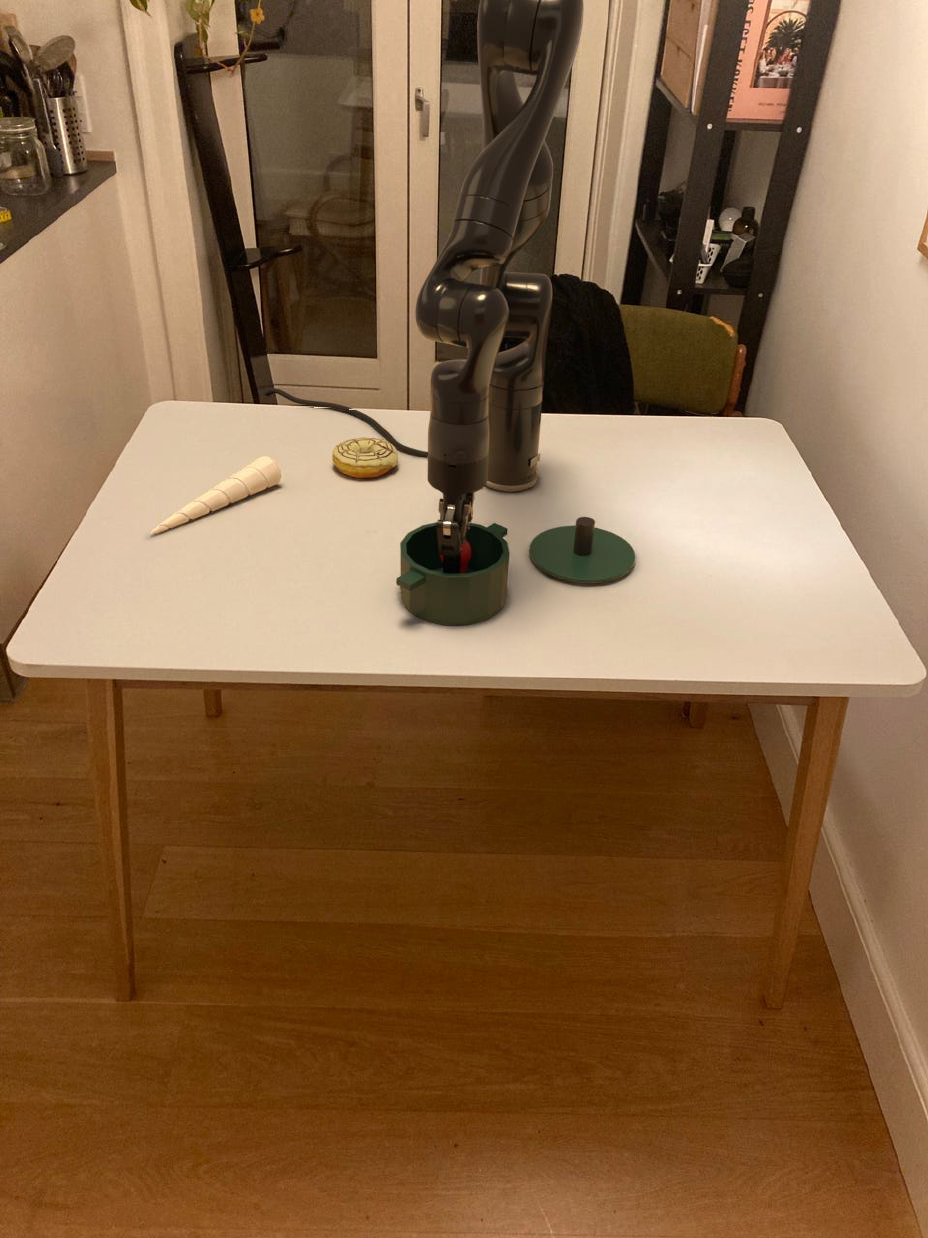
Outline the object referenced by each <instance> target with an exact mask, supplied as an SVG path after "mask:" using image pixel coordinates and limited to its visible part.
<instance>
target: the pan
mask: <svg viewBox="0 0 928 1238" xmlns="http://www.w3.org/2000/svg"><path fill="white" fill-rule="evenodd" d="M437 522H438V521H436V522H431V523H427V524H422V525H420V526H418V527H416V528H415V529H413V530H411V531H409V532H407V533H406V535H405V536H404V538H402V539H401V542H400V545H399V546H400V547H399V549H400V551H399V552H400V553H399V556H400V557H399V558H400V559H399V561H400V562H399V563H400V565H399V566H400V575H399V576H397V577H396V585H397V586H398V587H400V598H401V602H402V604H403V606H404V607H405V608H406V609H407V611H408V612H409V613H411V614H412V615H414V616H416V617H417V618H419V619H421V620H423V621H426V622H430V623H434V624H438V625H442V626H443V625H444V626H466V625H472V624H473V625H474V624H478V623H481V622H483V621H486V620H488V619H490V618H492V617H494V616H495V615H496V614H498V613H499V612H500V611H501V610H502V609H503V607H504V606H505V602H506V599H507V597H508V583H509V582H508V581H509V568H510V567H509V565H510V548H509V544H508V543H509V542H508V541H507V540H506V539H505V538H504V537H506V536H507V535H508V534H509V533H508V531H509V528H508V527H506V526H503V525H501V524H498V523H496V522H493V523H491V524H489V525H488V526H485V525H483V524H480V523H476V522H475V523H474V522H469V527H470V530H469V532H468V537H467V542H468V543H469V545H470V547H471V558H470V560H469V561H468V563H467V571H466V572H465V573H461V574H447V573H443V561H442V560H441V558H440V555H439V552H438V536H437V526H436V523H437Z"/></svg>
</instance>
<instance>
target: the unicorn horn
mask: <svg viewBox="0 0 928 1238" xmlns="http://www.w3.org/2000/svg"><path fill="white" fill-rule="evenodd" d="M281 479H282V473H281V469H280V467H279V465H278V463H277V461H275V459H274V458H272V457H270V456H267V455H263V456H261V457H258V458H257V459H256V460H253V461H252V462H251V463H249V464H248V465H247V466H245V467H243V468H241V469H240V470H239V471H237V472H235V473H234V474H232V475H231V476H229V477H227V478H226V479H224V480H223V481H222V482H220V483H218V484H217V485H215V486H214V487H212V488H211V489H209V490H207V491H206V492H204V493H203V494H201V495H200V496H198V497H197V498H195V499H194V500H192V501H191V502H189V503H188V504H187V505H185V506H184V507H182V508H181V509H179V510H177V511H176V512H175V513H174V514H172V515H171V516H169V517H168V518H166V519H165V520H163V521H162V522H160V523H159V524H158V525H157V526H156V527H155V528H153V529H152V530H151V531H150V532H149V535H154V534H158V533H162V532H164V531H167V530H169V529H170V528H171V529H172V528H175V527H179V526H180V525H183V524H185V523H188V522H190V520H192V521H193V520H195V519H197V518H200V517H202V516H205V515H208V514H210V512H215V511H218V510H220V509H222V508H224V507H228V506H229V504H233V503H236V502H238V501H240V500H244V499H246V498H248V497H249V496H253V495H255V494H258V493H259V492H262V491H264V490H266V489H269V488H271V487H274V486H276V485H278V484H280V482H281Z"/></svg>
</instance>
